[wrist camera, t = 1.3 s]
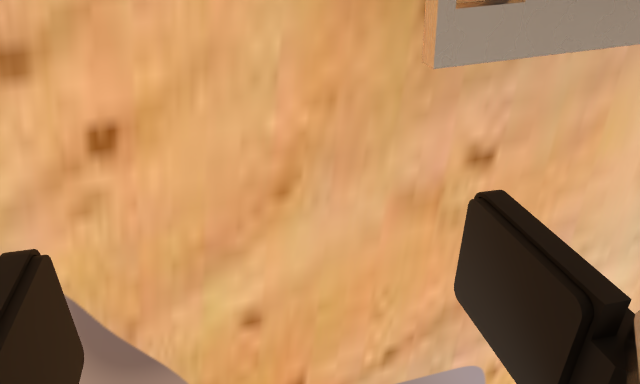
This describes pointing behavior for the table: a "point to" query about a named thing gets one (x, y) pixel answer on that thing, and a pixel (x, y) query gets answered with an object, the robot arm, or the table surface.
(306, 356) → the table surface
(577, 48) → the grey cross bracket
